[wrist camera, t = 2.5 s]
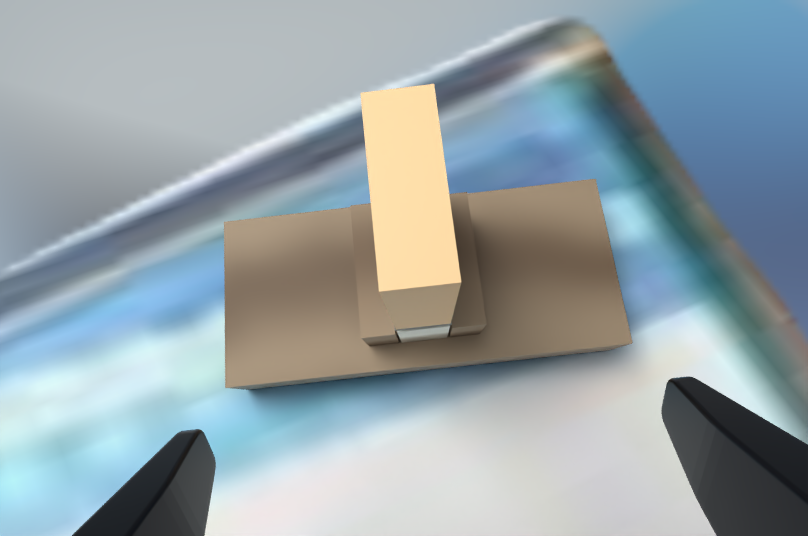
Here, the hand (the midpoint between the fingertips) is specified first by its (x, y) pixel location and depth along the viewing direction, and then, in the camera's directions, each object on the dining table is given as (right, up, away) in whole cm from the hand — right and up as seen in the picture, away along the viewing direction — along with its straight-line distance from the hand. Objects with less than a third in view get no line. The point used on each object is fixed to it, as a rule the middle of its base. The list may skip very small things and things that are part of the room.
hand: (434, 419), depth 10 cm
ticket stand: (0, +2, +13) cm, 13 cm away
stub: (0, +3, +8) cm, 8 cm away
